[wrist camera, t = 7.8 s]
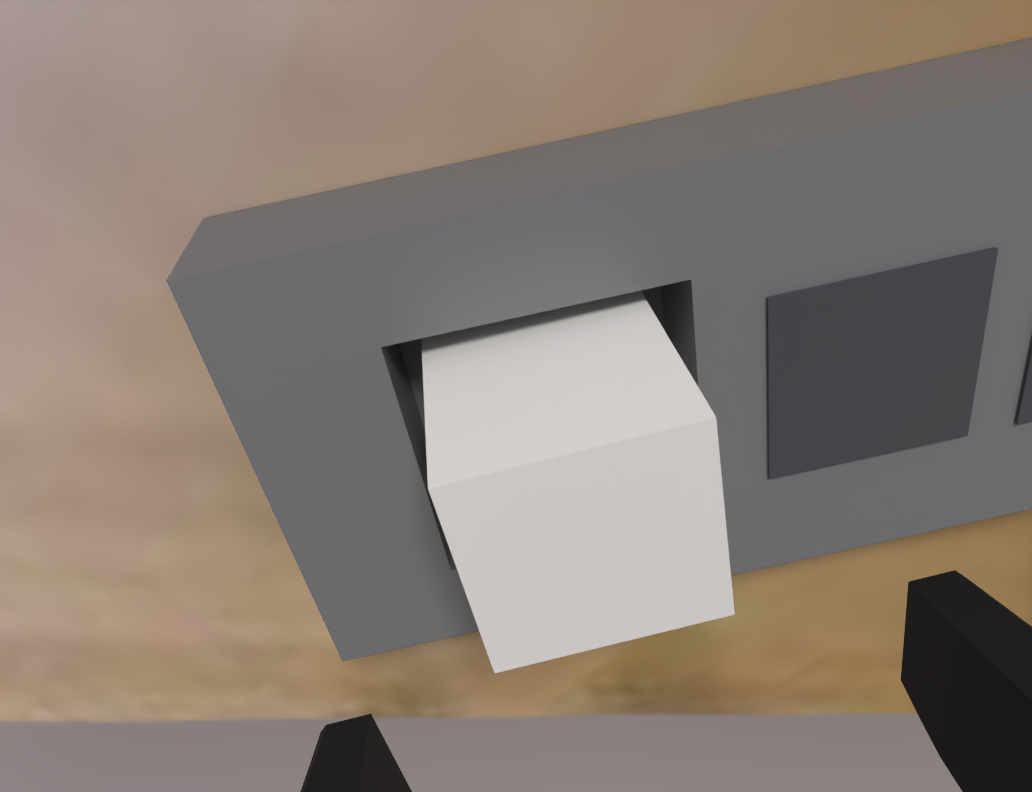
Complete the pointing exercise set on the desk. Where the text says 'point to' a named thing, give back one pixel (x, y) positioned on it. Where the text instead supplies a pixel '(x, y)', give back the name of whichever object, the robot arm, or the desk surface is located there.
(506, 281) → the power strip
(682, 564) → the plug
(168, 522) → the desk surface
